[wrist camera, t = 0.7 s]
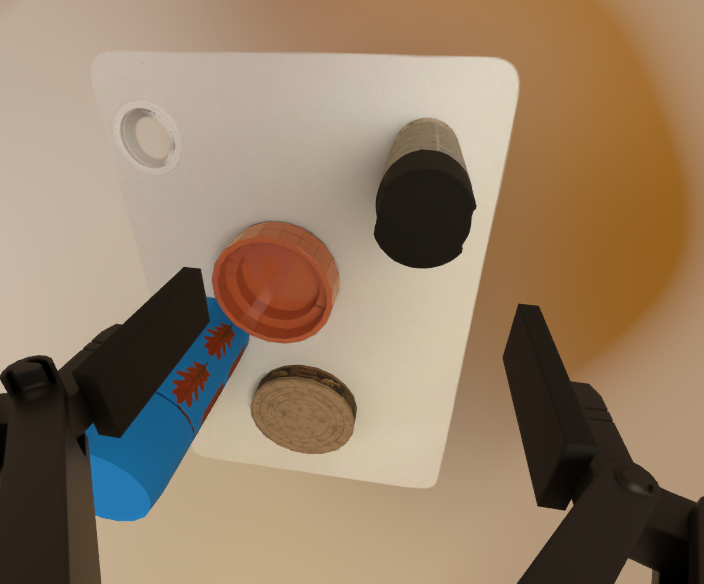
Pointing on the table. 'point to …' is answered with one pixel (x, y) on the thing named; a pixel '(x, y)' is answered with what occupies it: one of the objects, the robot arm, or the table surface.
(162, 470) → the thermos
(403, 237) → the spray can
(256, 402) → the brown round disc
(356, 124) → the table surface
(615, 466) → the robot arm
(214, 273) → the dish
